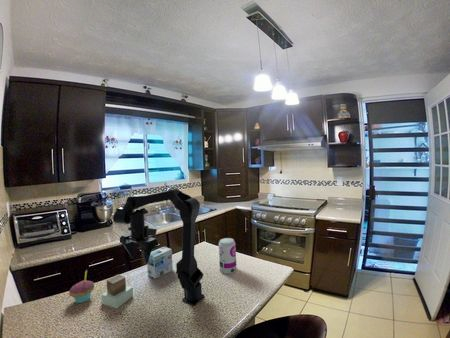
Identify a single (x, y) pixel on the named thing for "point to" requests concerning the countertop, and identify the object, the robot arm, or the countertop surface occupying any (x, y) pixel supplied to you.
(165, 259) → the light bulb box
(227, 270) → the supplement can
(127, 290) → the sage block
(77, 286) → the cupcake
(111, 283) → the walnut cube
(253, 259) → the countertop surface
